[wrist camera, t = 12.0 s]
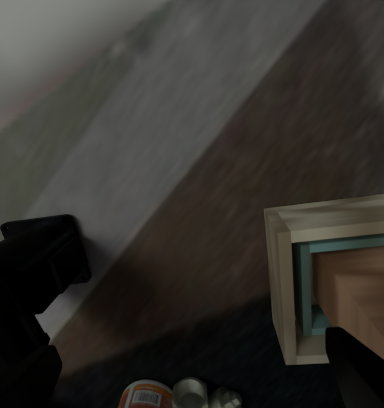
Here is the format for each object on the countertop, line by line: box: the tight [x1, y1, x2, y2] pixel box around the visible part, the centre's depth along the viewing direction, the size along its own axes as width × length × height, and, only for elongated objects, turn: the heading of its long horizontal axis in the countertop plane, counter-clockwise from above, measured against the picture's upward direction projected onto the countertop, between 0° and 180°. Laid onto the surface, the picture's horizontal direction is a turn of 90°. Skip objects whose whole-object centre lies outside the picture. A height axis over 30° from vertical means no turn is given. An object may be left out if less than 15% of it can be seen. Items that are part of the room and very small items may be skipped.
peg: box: [312, 246, 384, 359], centre depth 16 cm, size 4×4×9 cm
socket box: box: [264, 194, 384, 365], centre depth 19 cm, size 11×11×4 cm
